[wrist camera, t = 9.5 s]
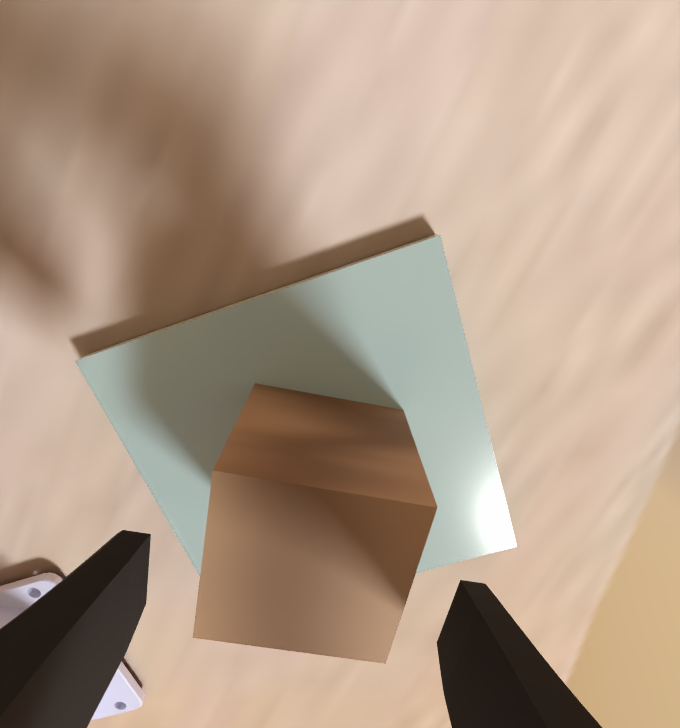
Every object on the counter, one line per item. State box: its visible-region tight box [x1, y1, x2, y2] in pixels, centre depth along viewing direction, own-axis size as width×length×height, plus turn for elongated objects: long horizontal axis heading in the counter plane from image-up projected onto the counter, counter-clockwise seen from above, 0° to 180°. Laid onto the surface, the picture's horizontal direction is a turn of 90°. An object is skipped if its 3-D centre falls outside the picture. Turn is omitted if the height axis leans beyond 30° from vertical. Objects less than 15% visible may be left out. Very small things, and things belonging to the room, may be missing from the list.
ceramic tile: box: [75, 234, 517, 576], centre depth 15 cm, size 12×12×1 cm
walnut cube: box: [193, 383, 438, 664], centre depth 12 cm, size 5×5×5 cm
